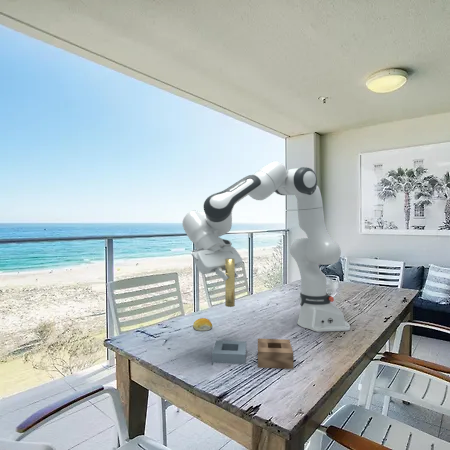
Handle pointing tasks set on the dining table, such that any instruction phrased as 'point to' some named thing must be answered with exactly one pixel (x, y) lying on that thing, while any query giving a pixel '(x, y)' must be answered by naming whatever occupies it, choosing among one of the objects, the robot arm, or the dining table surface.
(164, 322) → the dining table surface
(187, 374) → the dining table surface
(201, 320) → the bread roll
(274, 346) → the walnut bore block
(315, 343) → the dining table surface
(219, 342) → the slate socket block
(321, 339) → the dining table surface
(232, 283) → the brass peg
